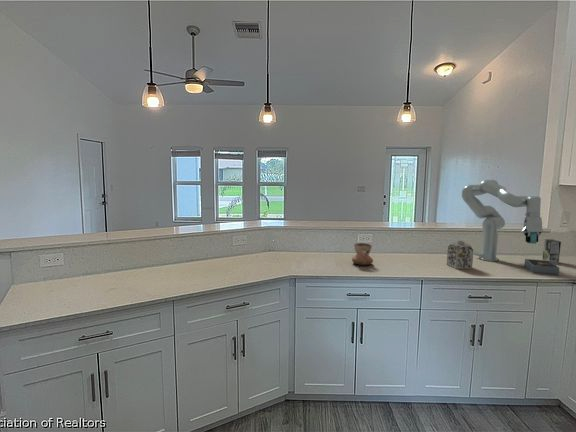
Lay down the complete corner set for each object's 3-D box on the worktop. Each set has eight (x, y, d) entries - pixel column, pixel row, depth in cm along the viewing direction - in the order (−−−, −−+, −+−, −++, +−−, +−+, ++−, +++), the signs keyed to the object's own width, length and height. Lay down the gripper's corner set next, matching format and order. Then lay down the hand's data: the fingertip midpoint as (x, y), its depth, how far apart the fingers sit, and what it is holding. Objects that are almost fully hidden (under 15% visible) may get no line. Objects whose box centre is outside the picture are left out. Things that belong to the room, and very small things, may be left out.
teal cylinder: (525, 242, 226) (526, 232, 226) (534, 242, 225) (534, 232, 224) (529, 243, 221) (529, 233, 221) (537, 243, 220) (538, 233, 220)
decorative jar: (446, 264, 234) (447, 239, 232) (461, 264, 235) (463, 239, 233) (456, 269, 222) (458, 243, 220) (472, 269, 223) (474, 242, 221)
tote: (558, 275, 209) (559, 267, 208) (531, 272, 214) (532, 265, 214) (548, 268, 225) (549, 260, 225) (524, 265, 231) (525, 258, 230)
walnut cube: (539, 271, 215) (540, 263, 214) (536, 269, 219) (537, 261, 219) (548, 272, 213) (549, 264, 212) (546, 270, 217) (546, 262, 217)
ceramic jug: (374, 267, 226) (375, 247, 225) (353, 266, 228) (353, 246, 226) (370, 261, 244) (371, 242, 243) (350, 260, 245) (351, 241, 244)
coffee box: (559, 264, 235) (561, 241, 233) (548, 263, 237) (551, 241, 235) (551, 260, 244) (554, 239, 242) (541, 260, 246) (544, 238, 244)
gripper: (525, 215, 217) (524, 243, 219) (549, 215, 218) (548, 242, 220) (516, 214, 225) (515, 241, 226) (540, 214, 226) (539, 240, 227)
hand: (531, 241), depth 223 cm, fingers closed on teal cylinder, 4 cm apart
